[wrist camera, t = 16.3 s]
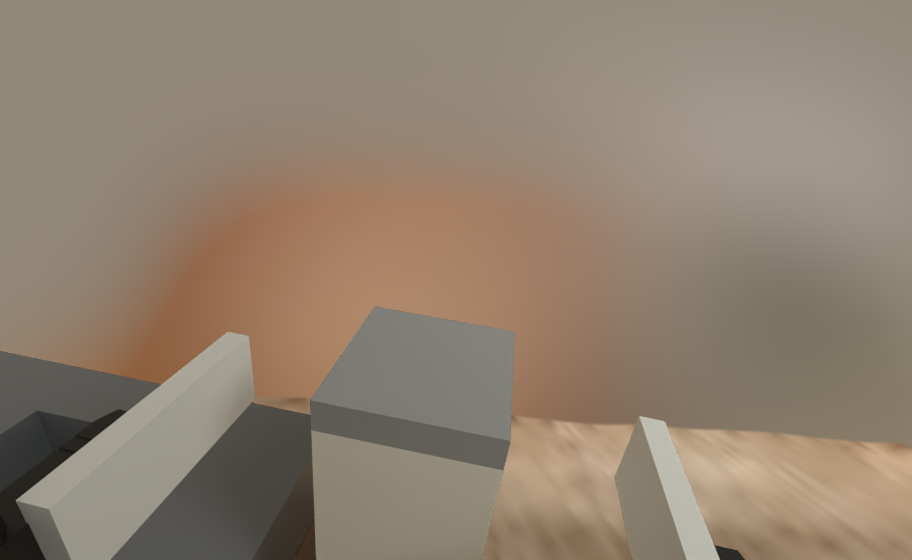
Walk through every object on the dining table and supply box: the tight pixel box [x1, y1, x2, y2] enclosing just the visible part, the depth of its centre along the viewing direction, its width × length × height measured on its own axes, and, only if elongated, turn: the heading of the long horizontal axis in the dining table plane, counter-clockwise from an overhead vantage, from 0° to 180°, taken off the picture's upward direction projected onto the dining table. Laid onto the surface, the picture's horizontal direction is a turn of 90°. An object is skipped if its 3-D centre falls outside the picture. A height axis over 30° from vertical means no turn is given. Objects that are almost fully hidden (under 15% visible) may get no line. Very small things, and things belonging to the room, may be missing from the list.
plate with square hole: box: [0, 351, 314, 560], centre depth 19 cm, size 22×12×4 cm, turn 82°
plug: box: [310, 307, 515, 560], centre depth 15 cm, size 5×5×14 cm
